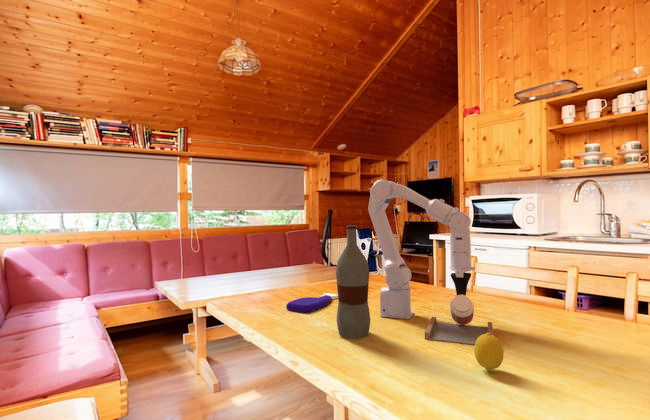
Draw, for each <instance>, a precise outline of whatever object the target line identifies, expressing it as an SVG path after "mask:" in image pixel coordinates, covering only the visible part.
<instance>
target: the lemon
mask: <svg viewBox="0 0 650 420" xmlns="http://www.w3.org/2000/svg"><path fill="white" fill-rule="evenodd" d="M473 349H474V350H473V351H474V357H475V359H476V362H477V363H478V364H479V366H481V367H483V368H484V369H485V370H487V371H488V372H492V371H493V370H496V369H497V368H500V366H501V365H502V364H503V360H504V349H503V345H502V343H501V341H500V340H499V338H498V337H496V336H495V335H494V334H493V335H491V334H490V333H486V334H483V335H481V336H479V337H478V338H477V340H476V343H475V345H474V348H473Z"/></svg>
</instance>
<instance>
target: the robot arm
mask: <svg viewBox="0 0 650 420" xmlns="http://www.w3.org/2000/svg"><path fill="white" fill-rule="evenodd" d="M369 194H370V195H369V196H370V197H369V202H368V206H367V207H368V208H367V209H368V214H369V217H370V220H371V223H372V225H373V229H374V231H375V234H376V235H375V236H376V238H377V241H378V243H379V247H380V250H381V252H382V255H383V258H384V271H385V275H384V277H385V283H386V285H387V286H382V287H381V289H380V294H379V296H380V297H379V299H380V300H379V304H380V305H379V306H380V310H379V311H380V314H379V317H382V318H394V319H404V320H410V319H411V318H412V316H413V315H414V314H415V311H414V310H412V309H411V308H412V303H411V302H412V301H411V297H412V295H411V285H410V283H409V282H410V281H411V279H412V275H413V274H412V271H411V269H410V268H409V267H408V266H407V264H406V263H405V259H404V258H403V257H401V254H400V251H399V249H398V246H397V241H396V239H395V236H394V233H393V230H392V227H391V225H390V221H389V219H388V216H387V213H386V210H387V208H388V206H389V204H390V203H391V202H392V201H394V199H396V198H397V199H405V200H406V201H409V202H410V203H413V204H414V205H416V206H418V207H421V208H422V209H425V212H426V215H427V216H428V217H430V218H432V219H434V220H436V221H438V222H439V223H441V224H442V225H445V226H448V227H449V229H450V238H449V246H450V247H449V248H450V252H449V253H450V254H449V255H450V266H449V269H450V271H453V272H452V273H450V277H451V280H452V282H453V284H454V288H455V292H456V296H457V295H465V296H467V291H468V285H469V281H470V279H471V277H472V273H471V271H476V266H472V254H471V253H472V251H471V248H472V247H471V231H470V228H469V227H470V226H471V223H472V220H471V217H470V215H468V214H467V213H466V212H465V211H459V210H460V208H459V207H453V206H452V205H449V204H448V203H445V200H444V199H442V198H440V199H438V198H434V199H429V198H427V197H426V196H424V195H421V194H419V193H418V192H416V191H415V190H413V189H412V188H409V187H407V186H405V185H403V184H401V183H396V182H395V181H392V180H387V179H384V178H381V179H378V180H376V181H375V182H374V183H373V184H372V186H371V188H370V189H369Z"/></svg>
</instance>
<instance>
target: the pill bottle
mask: <svg viewBox="0 0 650 420" xmlns="http://www.w3.org/2000/svg"><path fill="white" fill-rule="evenodd" d="M449 305H450V306H449V308H450V315H451V318H452V320H453V321H454V322H455V324H460V325H468V324H470V323H471V322H472V321H473V319H474V312H475V311H474V306H475V305H474V303H473V301H472V300H471V298H470V297H468V296H467V295H466V296H465V295H457V294H456V295H455V296H454V297H453V298H452V299H451V301H450V304H449Z"/></svg>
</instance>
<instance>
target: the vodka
mask: <svg viewBox="0 0 650 420" xmlns="http://www.w3.org/2000/svg"><path fill="white" fill-rule="evenodd" d="M357 237H358V236H357V225H352V224H351V225H350V224H348V225H346V246H345V248H344V249H343V251H342V253H341V254H340V256H339V258H338V260H337V261H336V269H335V279H336V286H337V287H336V289H337V295H338V298H337V299H338V301H337V303H338V304H337V311H336V312H337V313H336V326H337V332H338V334H339V336H340V337H342V338H344V339H350V340H359V339H364V338H367V337H368V336H369V331H370V326H371V316H370V315H371V314H370V313H371V312H370V308H369V302H368V299H369V284H370V283H369V282H370V268H369V263H368V259H366V257H365V255H364V254H363V252H362V250H361V248H360V247H359V245H358V240H357Z"/></svg>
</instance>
